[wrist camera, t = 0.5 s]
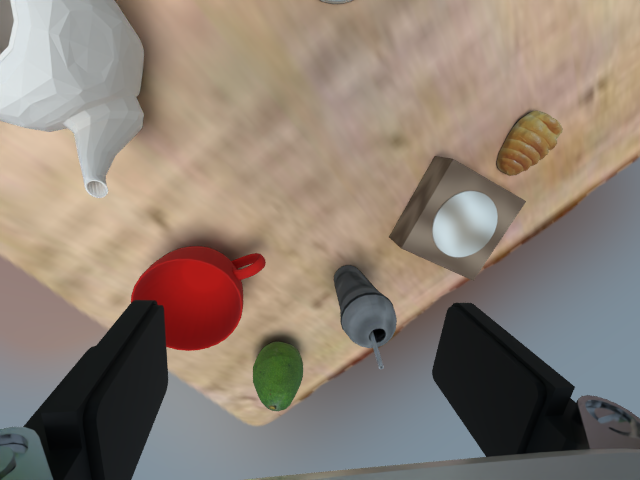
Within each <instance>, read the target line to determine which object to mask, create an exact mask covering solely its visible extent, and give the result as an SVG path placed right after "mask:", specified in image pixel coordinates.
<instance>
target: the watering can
mask: <svg viewBox="0 0 640 480" xmlns="http://www.w3.org/2000/svg"><path fill="white" fill-rule="evenodd" d="M143 62H144V49H143V46H142V43H141V41H140V38H139V37H138V35H137V34H136V32H135V31H134V29H133V28H132V26H131V25H130V23H129V22H128V20H127V19H126V17H125V16H124V14H123V12H122V11H121V9H120V8H119V6H118V5H117V3H116V2H115V0H0V121H3V122H7V123H10V124H14V125H17V126H20V127H24V128H29V129H35V130H41V131H47V132H51V131H56V130H61V129H66V128H68V129H70V130H71V131H72V132H73V133H74V136H75V141H76V146H77V152H78V157H79V162H80V166H81V170H82V175H83V179H84V185H85V189H86V191H87V192H88V193H89V194H90V195H92V196H94V197H97V198H101V197H104V196H106V195H107V193H108V188H107V185H106V177H105V176H106V174H107V172H108V170H109V168H110V166H111V164H112V162H113V160H114V158H115V156H116V155H117V154H118V153H119V152H120V151H121V150H122V149H123V147H124V146H125V145H126V144H127V143H128V142H129V141H130V140H131V139H132V138H133V137H134V136H135V135H136V134H137V133H138V132H139V131H140V130H141V128H142V127H143V117H144V113H143V111H142V109H141V107H140V104H139V102H138V100H137V98H136V97H137V96H138V95H139V92H140V88H141V80H142V72H143Z"/></svg>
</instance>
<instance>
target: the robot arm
mask: <svg viewBox="0 0 640 480" xmlns="http://www.w3.org/2000/svg"><path fill="white" fill-rule="evenodd" d="M320 1H323V2H327V3H332V4H340V3H346V2H350V1H352V0H320ZM432 375H433V379H434V381H435V382H436V384H437V385H438V387H439V388H440V390H441V391H442V393H443V394H444V396H445V397H446V398H447V400H448V401H449V403H450V404H451V406H452V407H453V409H454V410H455V412H456V413H457V415H458V416H459V417H460V419H461V420H462V422H463V423H464V425H465V426H466V427H467V429H468V430H469V432H470V434H471V435H472V436H473V438H474V439H475V441H476V442H477V444H478V445H479V447H480V448H481V450H482V451H483V453H484V454H485V455H486V457H480V458H469V459H458V460H446V461H436V462H424V463H413V464H402V465H391V466H380V467H370V468H360V469H348V470H337V471H328V472H318V473H307V474H296V475H286V476H277V477H266V478H256V479H246V480H640V418H639V417H637V416H636V415H634V414H633V413H632V412H630V411H629V410H627V409H625V408H623V407H622V406H620V405H618V404H616V403H614V402H611V401H609V400H607V399H603V398H600V397H597V396H590V395H586V396H581V397H580V398H579V399H578V400H577V403H575V402H574V401H573V400H572V399H571V398H570V397H571V395H572V392H573V390H574V388H575V387H574V386H573V385H572V384H571V383H570V382H568V381H567V380H566V379H565V378H563V377H562V376H561V375H560V374H558V373H557V372H556V371H555V370H554V369H552V368H551V367H550V366H549V365H547V364H546V363H545V362H544V361H542V360H541V359H540V358H539V357H538V356H536V355H535V354H534V353H533V352H531V351H530V350H529V349H528V348H527V347H525V346H524V345H523V344H522V343H520V342H519V341H518V340H517V339H515V338H514V337H513V336H511V334H509V333H508V332H507V331H506V330H504V329H503V328H502V327H501V326H499V325H498V324H497V323H496V322H495V321H493V320H492V319H491V318H490V317H488V316H487V315H486V314H485V313H483V312H482V311H481V310H480V309H479V308H477V307H476V306H475V305H474V304H472V303H454V304H453V305H452V306H451V307H449V308H448V310H447V313H446V317H445V321H444V325H443V329H442V333H441V337H440V341H439V345H438V349H437V353H436V357H435V361H434V366H433V370H432ZM167 385H168V368H167V351H166V334H165V317H164V307H163V305H158V304H157V301H156V300H134V301H133V302H132V303H131V304H130V305H129V306H128V308H127V309H126V310H125V311H124V312H123V314H122V315H121V316H120V317H119V319H118V320H117V321H116V322H115V323H114V325H113V326H112V327H111V328H110V330H109V331H108V332H107V333H106V335H105V336H104V337H103V338H102V339H101V341H100V342H99V343H98V344H97V345H96V346H94V347H91V348H90V349H89V350H88V351H87V352H86V353H85V354H84V355H83V356H82V358H81V359H80V360H79V361H78V362H77V364H76V365H75V366H74V367H73V368H72V370H71V371H70V372H69V373H68V374H67V375H66V377H65V378H64V379H63V380H62V381H61V382H60V384H59V385H58V386H57V387H56V389H55V390H54V391H53V392H52V393H51V394H50V396H49V397H48V398H47V399H46V400H45V402H44V403H43V404H42V405H41V406H40V408H39V409H38V410H37V411H36V412H35V414H34V415H33V416H32V417H31V418H30V420H29V421H28V422H27V423H26V424H25V425H24V426H23V427H9V428H4V429H0V480H131V479H132V476H133V474H134V471H135V469H136V466H137V464H138V461H139V459H140V456H141V453H142V451H143V449H144V446H145V443H146V441H147V438H148V436H149V433H150V431H151V428H152V425H153V423H154V421H155V418H156V415H157V413H158V411H159V408H160V406H161V403H162V400H163V398H164V395H165V393H166V390H167Z"/></svg>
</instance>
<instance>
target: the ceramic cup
mask: <svg viewBox="0 0 640 480" xmlns="http://www.w3.org/2000/svg"><path fill="white" fill-rule="evenodd" d="M252 263H253V264H252ZM265 263H266V262H265V259H264V257H263V256H262V255H261V254H258V253H255V254H250V255H246V256H243V257H241V258H238V259H235V260H233V261H230V260H229V259H228V258H227V257H226V256H225V255H223V254H222V253H220V252H218V251H216V250H214V249H211V248H208V247H201V246H190V247H184V248H180V249H177V250H175V251H172V252H170V253H168V254H166V255H165V256H163V257H162V258H160V259H159V260H157V261H156V262H155V263H153V264H152V265H151V266H150V267H149V268H148V269H147V270H146V271H145V272H144V273H143V274H142V275H141V276H140V278H139V280H138V281H137V283H136V284H135V286H134V289H133V292H132V295H131V303H132V302H133V301H134V300H156V301H157V304H158V305H163V307H164V317H165V334H166V347H169V348H173V349H177V350H186V351H190V350H200V349H205V348H209V347H211V346H214V345H216V344H218V343H220V342H221V341H223V340H225V339H226V338H227V337H228V336H229V335H230V334H231V333H232V332H233V331H234V330H235V328H236V327H237V325H238V323H239V321H240V318H241V315H242V309H243V287H242V282H241V280H242V279H245V278H248V277H250V276H253V275H255V274H256V273H258V272H259V271H261V270H262V269H263V268H264V266H265ZM249 264H251V265H250V266H248V267H246V268H243V269H239V270H238V268H240V267H243V266H246V265H249Z"/></svg>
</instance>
